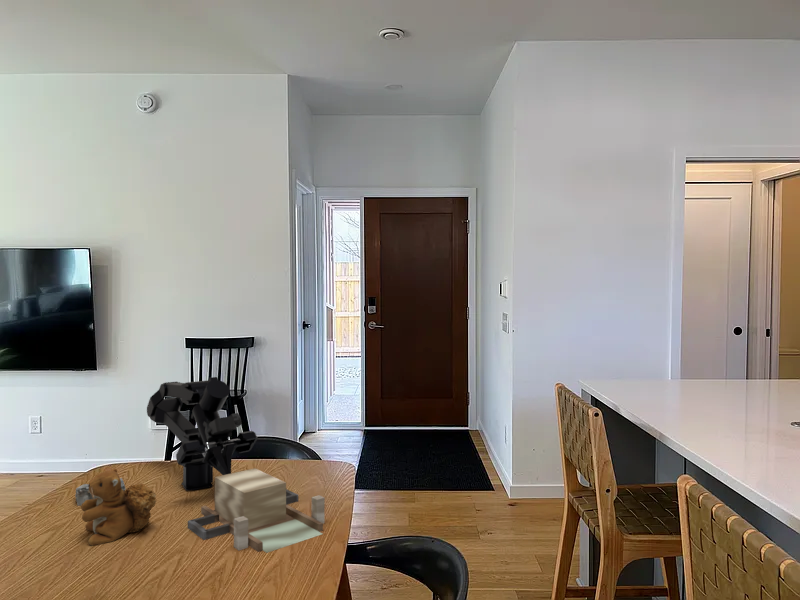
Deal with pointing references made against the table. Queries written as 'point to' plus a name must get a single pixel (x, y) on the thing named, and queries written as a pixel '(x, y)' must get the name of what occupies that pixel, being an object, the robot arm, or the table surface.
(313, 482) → the table surface
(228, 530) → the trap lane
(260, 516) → the maple block
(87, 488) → the egg carton
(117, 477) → the stuffed squirrel
